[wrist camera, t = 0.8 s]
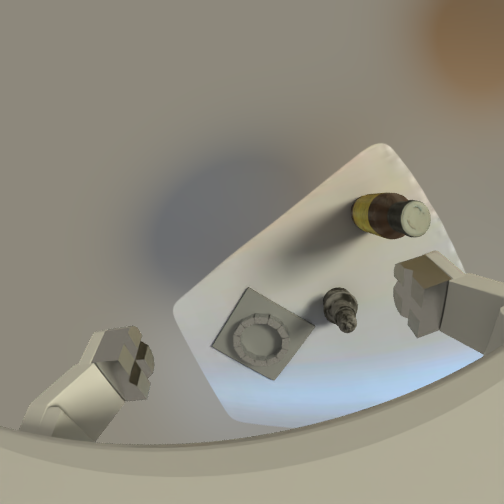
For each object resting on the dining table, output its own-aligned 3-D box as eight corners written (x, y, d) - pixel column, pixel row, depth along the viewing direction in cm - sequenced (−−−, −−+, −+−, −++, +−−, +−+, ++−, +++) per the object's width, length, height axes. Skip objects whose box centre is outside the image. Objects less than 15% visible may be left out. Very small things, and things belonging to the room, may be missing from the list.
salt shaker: (324, 319, 52) (332, 350, 40) (319, 289, 51) (327, 314, 39) (355, 313, 51) (371, 342, 39) (351, 282, 50) (367, 305, 39)
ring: (299, 330, 52) (299, 335, 50) (270, 368, 54) (270, 374, 52) (252, 303, 52) (250, 307, 50) (226, 344, 54) (224, 349, 53)
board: (314, 325, 52) (315, 326, 52) (274, 379, 55) (274, 380, 55) (248, 287, 53) (248, 288, 52) (212, 345, 56) (212, 346, 55)
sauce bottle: (355, 235, 49) (394, 256, 29) (345, 200, 48) (380, 199, 29) (389, 224, 48) (442, 239, 28) (379, 190, 47) (430, 184, 28)
